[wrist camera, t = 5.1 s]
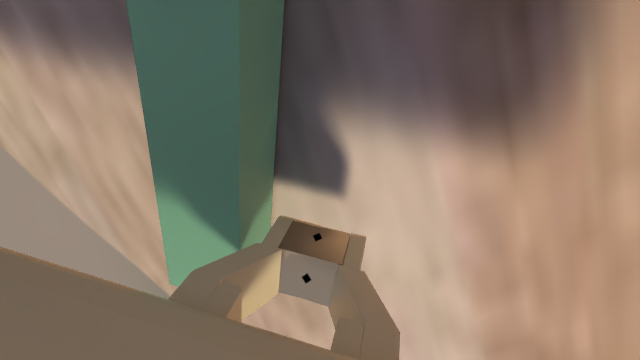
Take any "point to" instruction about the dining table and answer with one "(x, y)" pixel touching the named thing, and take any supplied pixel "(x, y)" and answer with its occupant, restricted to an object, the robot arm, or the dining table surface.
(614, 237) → the dining table surface
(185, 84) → the teal leg
